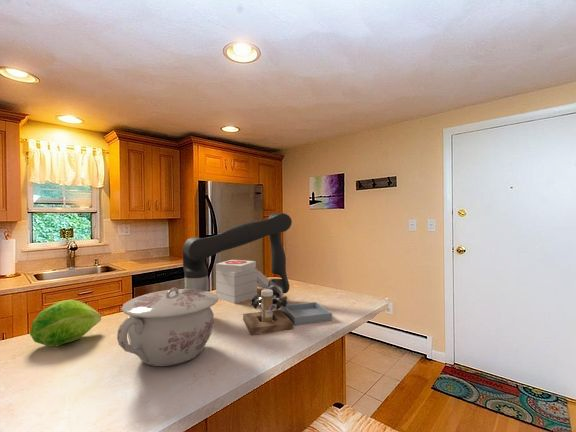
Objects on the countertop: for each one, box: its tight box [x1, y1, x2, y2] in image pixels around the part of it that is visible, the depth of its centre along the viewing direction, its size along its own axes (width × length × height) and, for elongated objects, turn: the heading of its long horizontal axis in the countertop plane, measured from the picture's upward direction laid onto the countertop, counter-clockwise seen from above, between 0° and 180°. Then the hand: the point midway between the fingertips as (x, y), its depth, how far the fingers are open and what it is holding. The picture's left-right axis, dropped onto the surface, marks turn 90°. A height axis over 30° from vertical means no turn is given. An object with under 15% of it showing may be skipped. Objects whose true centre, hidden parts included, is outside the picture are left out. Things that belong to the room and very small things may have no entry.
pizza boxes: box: [215, 259, 270, 305], centre depth 158 cm, size 19×30×18 cm, turn 139°
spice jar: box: [260, 288, 274, 322], centre depth 116 cm, size 5×5×14 cm
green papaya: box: [29, 299, 102, 347], centre depth 102 cm, size 15×20×14 cm
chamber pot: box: [116, 286, 219, 367], centre depth 91 cm, size 28×28×21 cm
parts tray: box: [281, 301, 333, 326], centre depth 126 cm, size 16×16×3 cm
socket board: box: [242, 309, 294, 336], centre depth 116 cm, size 16×16×2 cm
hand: (266, 306), depth 115 cm, fingers open, 8 cm apart
